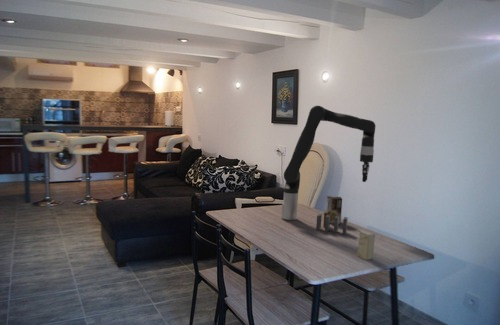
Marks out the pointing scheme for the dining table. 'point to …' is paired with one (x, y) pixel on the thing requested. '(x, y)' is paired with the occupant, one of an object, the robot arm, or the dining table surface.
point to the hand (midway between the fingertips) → (364, 180)
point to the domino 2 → (325, 217)
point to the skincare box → (366, 245)
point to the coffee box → (334, 207)
